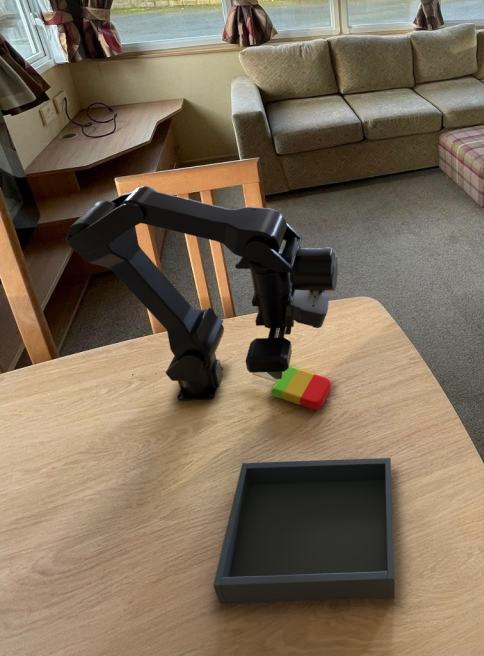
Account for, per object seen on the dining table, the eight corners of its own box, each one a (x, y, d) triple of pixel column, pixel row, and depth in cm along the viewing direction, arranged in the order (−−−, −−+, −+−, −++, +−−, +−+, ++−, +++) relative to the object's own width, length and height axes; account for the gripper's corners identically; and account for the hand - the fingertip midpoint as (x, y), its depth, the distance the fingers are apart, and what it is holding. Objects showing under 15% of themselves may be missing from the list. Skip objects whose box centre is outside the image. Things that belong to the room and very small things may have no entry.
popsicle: (319, 413, 82) (318, 405, 81) (244, 387, 87) (243, 380, 86) (333, 385, 86) (332, 378, 86) (261, 362, 91) (260, 355, 90)
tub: (219, 604, 59) (213, 585, 57) (247, 481, 72) (242, 462, 70) (395, 597, 60) (394, 579, 58) (391, 476, 72) (390, 457, 70)
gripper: (317, 329, 68) (325, 403, 75) (328, 246, 85) (334, 312, 91) (237, 332, 68) (253, 405, 75) (264, 248, 85) (275, 314, 91)
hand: (283, 355), depth 83 cm, fingers open, 9 cm apart
